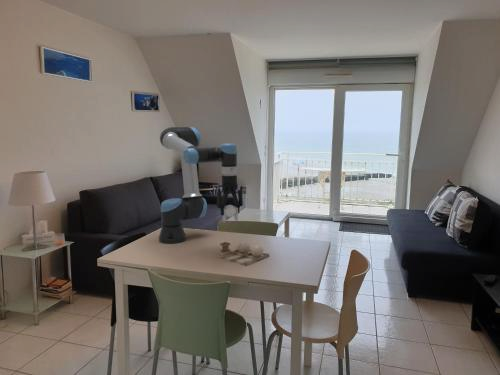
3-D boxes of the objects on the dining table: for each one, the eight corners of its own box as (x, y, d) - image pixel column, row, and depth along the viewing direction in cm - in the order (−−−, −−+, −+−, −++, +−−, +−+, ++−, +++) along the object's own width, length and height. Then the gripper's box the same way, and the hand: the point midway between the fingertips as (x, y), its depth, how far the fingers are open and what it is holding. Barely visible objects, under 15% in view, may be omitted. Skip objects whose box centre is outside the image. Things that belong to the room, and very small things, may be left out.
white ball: (222, 216, 201) (222, 204, 200) (233, 214, 204) (232, 203, 203) (227, 218, 196) (226, 206, 195) (238, 217, 198) (237, 205, 198)
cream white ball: (248, 256, 197) (248, 245, 196) (255, 254, 202) (255, 242, 201) (257, 259, 194) (257, 247, 193) (265, 256, 198) (265, 244, 197)
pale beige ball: (235, 253, 203) (235, 242, 202) (243, 250, 207) (243, 239, 206) (244, 255, 199) (244, 244, 198) (251, 253, 204) (252, 241, 203)
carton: (219, 258, 196) (219, 255, 196) (242, 250, 209) (242, 247, 209) (246, 266, 185) (246, 263, 185) (269, 257, 198) (269, 254, 198)
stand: (218, 252, 207) (218, 243, 206) (225, 249, 211) (225, 241, 210) (225, 254, 203) (225, 245, 203) (232, 251, 207) (232, 243, 206)
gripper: (214, 176, 189) (215, 224, 192) (249, 174, 198) (250, 220, 201) (208, 175, 196) (209, 221, 199) (243, 173, 204) (243, 217, 208)
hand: (230, 220), depth 200 cm, fingers closed on white ball, 6 cm apart
